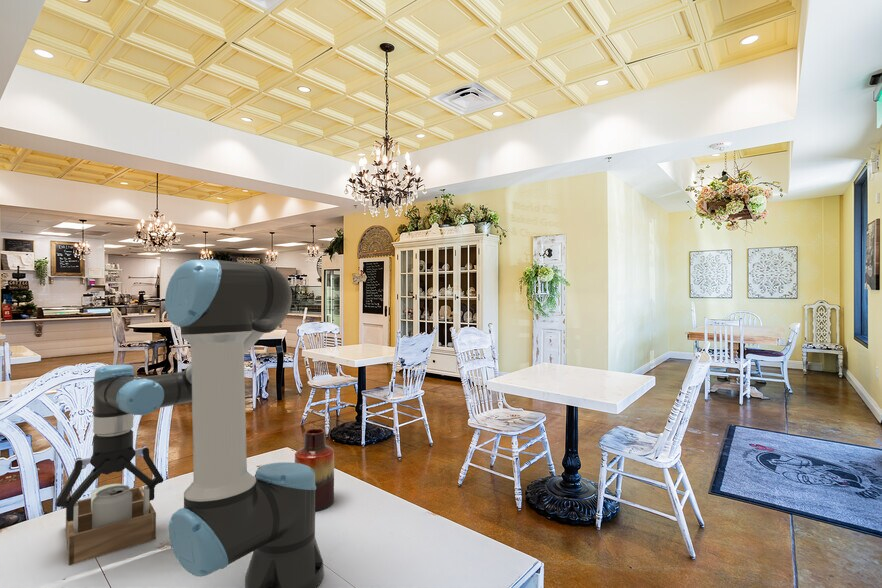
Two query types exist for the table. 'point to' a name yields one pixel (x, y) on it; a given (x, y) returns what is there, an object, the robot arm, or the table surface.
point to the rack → (109, 530)
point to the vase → (319, 466)
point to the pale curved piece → (93, 493)
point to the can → (111, 506)
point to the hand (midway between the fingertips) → (112, 523)
